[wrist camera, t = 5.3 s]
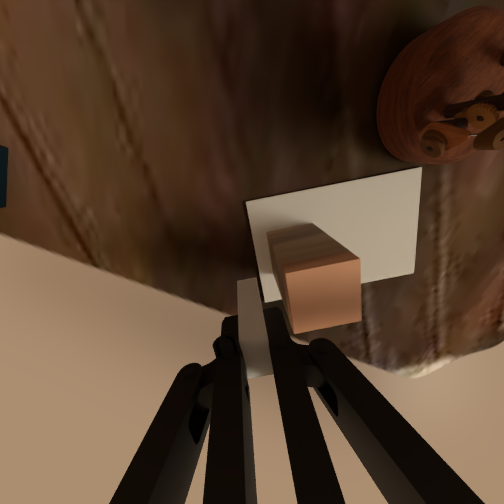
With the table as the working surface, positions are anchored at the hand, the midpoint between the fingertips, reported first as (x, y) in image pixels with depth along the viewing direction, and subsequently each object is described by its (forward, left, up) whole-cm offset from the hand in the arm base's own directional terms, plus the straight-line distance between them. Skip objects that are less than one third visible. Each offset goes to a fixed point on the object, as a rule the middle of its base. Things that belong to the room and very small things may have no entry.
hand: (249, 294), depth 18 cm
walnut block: (0, +5, -8) cm, 9 cm away
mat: (0, +10, -8) cm, 13 cm away
